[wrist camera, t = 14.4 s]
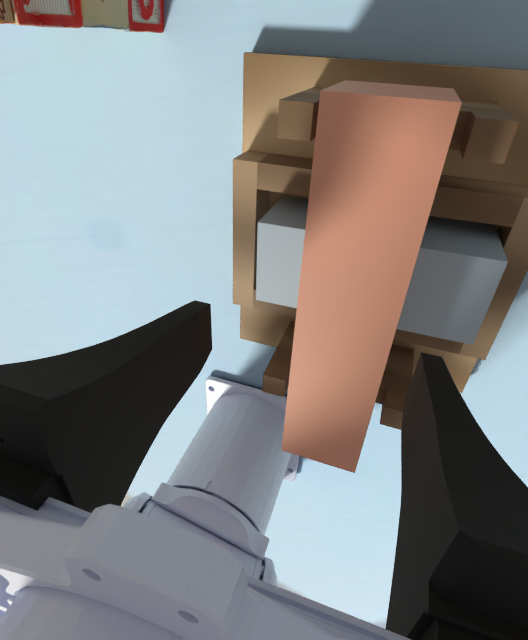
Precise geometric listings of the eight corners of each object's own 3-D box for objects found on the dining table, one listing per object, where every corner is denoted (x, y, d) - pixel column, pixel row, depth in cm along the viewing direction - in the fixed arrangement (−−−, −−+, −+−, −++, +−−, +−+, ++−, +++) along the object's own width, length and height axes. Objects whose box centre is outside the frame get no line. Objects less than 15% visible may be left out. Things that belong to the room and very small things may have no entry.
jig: (460, 381, 24) (468, 464, 20) (245, 329, 28) (206, 390, 23) (598, 74, 15) (677, 88, 10) (251, 52, 19) (189, 54, 14)
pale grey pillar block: (466, 299, 21) (472, 344, 17) (279, 265, 23) (255, 299, 20) (494, 224, 18) (507, 261, 15) (283, 195, 21) (257, 222, 18)
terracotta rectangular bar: (365, 410, 22) (354, 472, 18) (302, 393, 22) (281, 450, 19) (453, 88, 13) (461, 102, 10) (345, 79, 14) (320, 90, 11)
